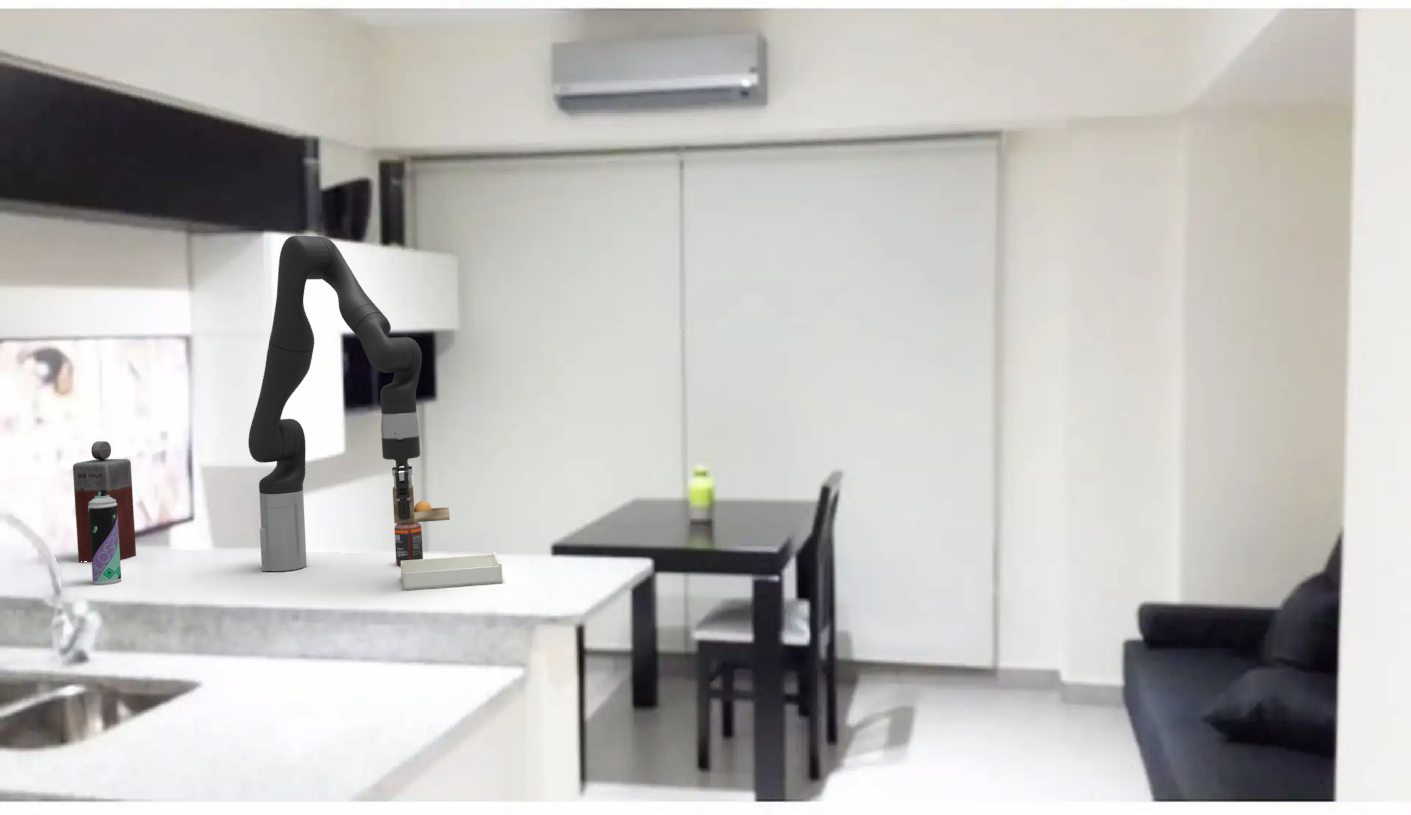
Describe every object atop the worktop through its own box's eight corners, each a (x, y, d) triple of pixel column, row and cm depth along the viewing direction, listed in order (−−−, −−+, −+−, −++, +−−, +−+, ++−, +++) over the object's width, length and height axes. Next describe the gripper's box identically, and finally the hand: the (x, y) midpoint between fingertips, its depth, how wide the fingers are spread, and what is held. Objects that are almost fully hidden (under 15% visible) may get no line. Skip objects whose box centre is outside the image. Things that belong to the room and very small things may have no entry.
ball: (425, 522, 246) (411, 514, 245) (424, 516, 249) (410, 508, 248) (435, 509, 246) (421, 501, 245) (434, 504, 249) (420, 495, 248)
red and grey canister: (94, 554, 289) (87, 439, 287) (136, 555, 287) (130, 439, 285) (69, 562, 281) (61, 443, 279) (112, 562, 279) (105, 443, 277)
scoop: (394, 523, 244) (392, 489, 243) (395, 520, 249) (393, 486, 248) (449, 519, 246) (447, 486, 246) (449, 516, 251) (447, 483, 251)
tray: (402, 590, 242) (401, 571, 241) (401, 576, 255) (400, 558, 255) (502, 583, 247) (501, 563, 246) (496, 569, 260) (495, 551, 260)
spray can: (92, 586, 253) (87, 492, 252) (92, 581, 258) (87, 489, 257) (121, 582, 256) (116, 490, 254) (121, 578, 261) (115, 487, 259)
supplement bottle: (426, 561, 272) (424, 511, 271) (418, 566, 266) (416, 516, 265) (401, 561, 272) (399, 512, 272) (392, 566, 266) (389, 516, 266)
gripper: (382, 433, 252) (387, 513, 253) (380, 438, 238) (384, 523, 239) (419, 431, 253) (423, 511, 254) (418, 436, 239) (423, 520, 240)
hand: (404, 516), depth 247 cm, fingers closed on scoop, 5 cm apart
